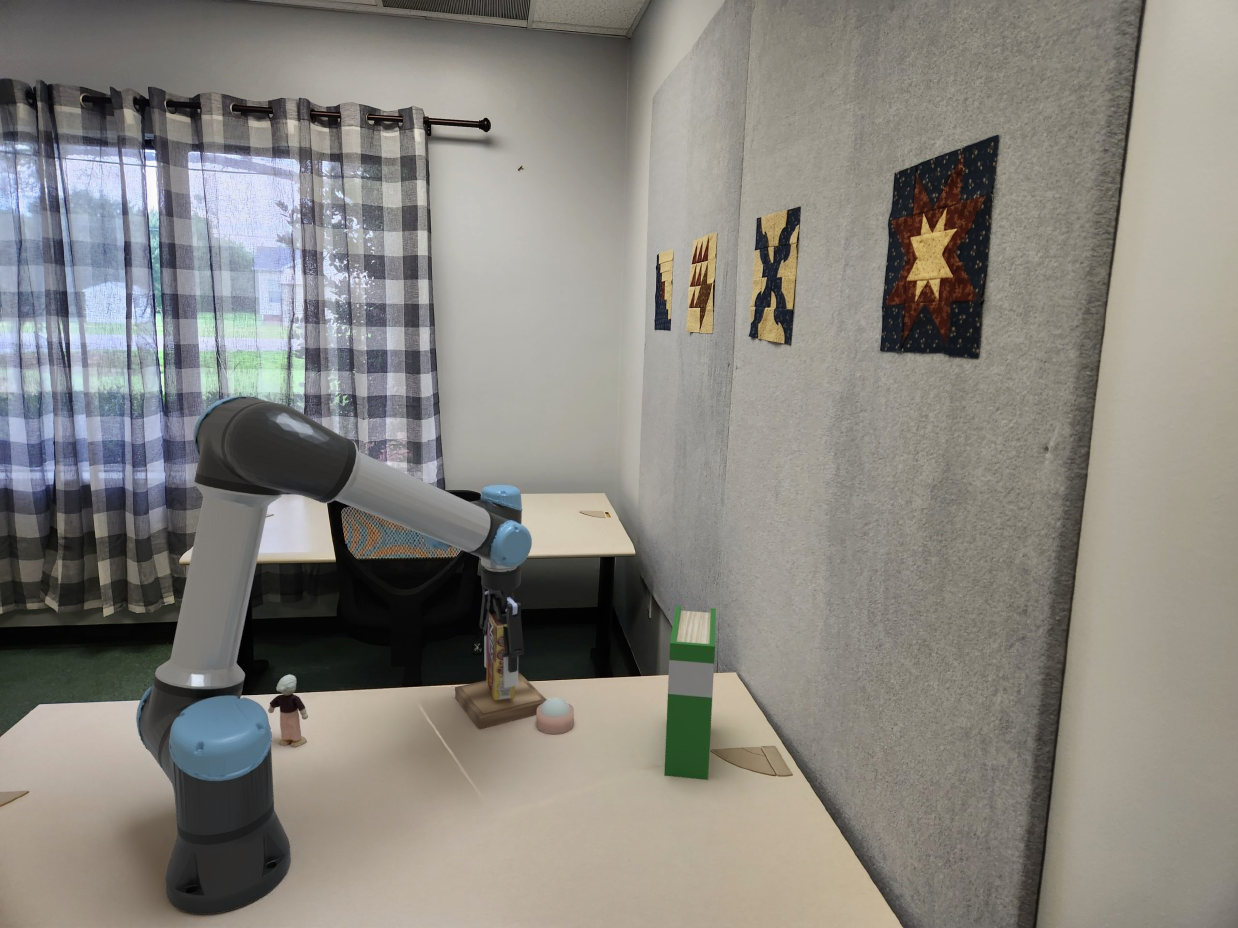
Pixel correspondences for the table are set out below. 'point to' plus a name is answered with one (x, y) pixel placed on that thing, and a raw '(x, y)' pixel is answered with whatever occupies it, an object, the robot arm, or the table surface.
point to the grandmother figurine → (289, 711)
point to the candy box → (496, 659)
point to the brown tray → (498, 703)
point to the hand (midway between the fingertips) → (500, 675)
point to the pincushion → (555, 716)
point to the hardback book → (690, 694)
